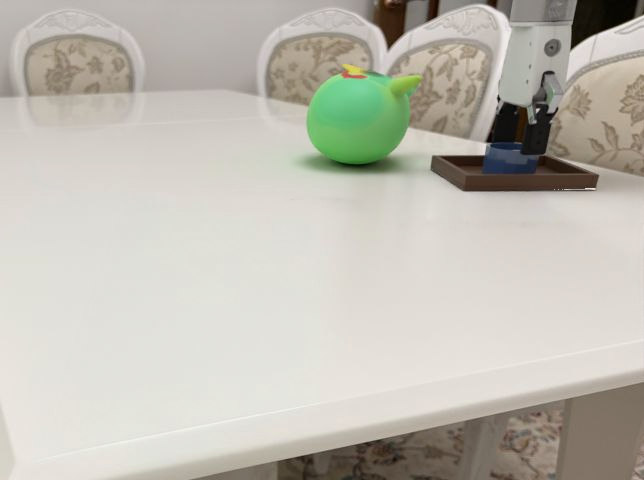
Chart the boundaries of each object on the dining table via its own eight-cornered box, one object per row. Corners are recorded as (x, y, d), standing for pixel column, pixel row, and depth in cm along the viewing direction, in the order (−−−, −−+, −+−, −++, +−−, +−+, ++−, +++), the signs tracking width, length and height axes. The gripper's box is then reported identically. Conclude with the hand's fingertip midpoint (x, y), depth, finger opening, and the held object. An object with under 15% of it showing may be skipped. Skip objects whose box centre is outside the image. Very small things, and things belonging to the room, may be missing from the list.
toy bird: (308, 151, 120) (315, 60, 113) (408, 154, 116) (421, 61, 109) (298, 171, 104) (305, 67, 97) (413, 176, 100) (429, 69, 94)
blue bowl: (521, 169, 101) (527, 142, 99) (543, 180, 95) (549, 150, 93) (473, 170, 101) (478, 142, 99) (492, 180, 95) (498, 150, 93)
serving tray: (545, 168, 104) (548, 154, 104) (595, 190, 91) (599, 174, 90) (430, 169, 105) (432, 155, 104) (463, 191, 92) (466, 175, 91)
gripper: (607, 12, 81) (574, 159, 88) (540, 12, 96) (517, 137, 104) (543, 14, 81) (516, 160, 89) (487, 14, 97) (468, 139, 104)
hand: (517, 148), depth 96 cm, fingers open, 9 cm apart
